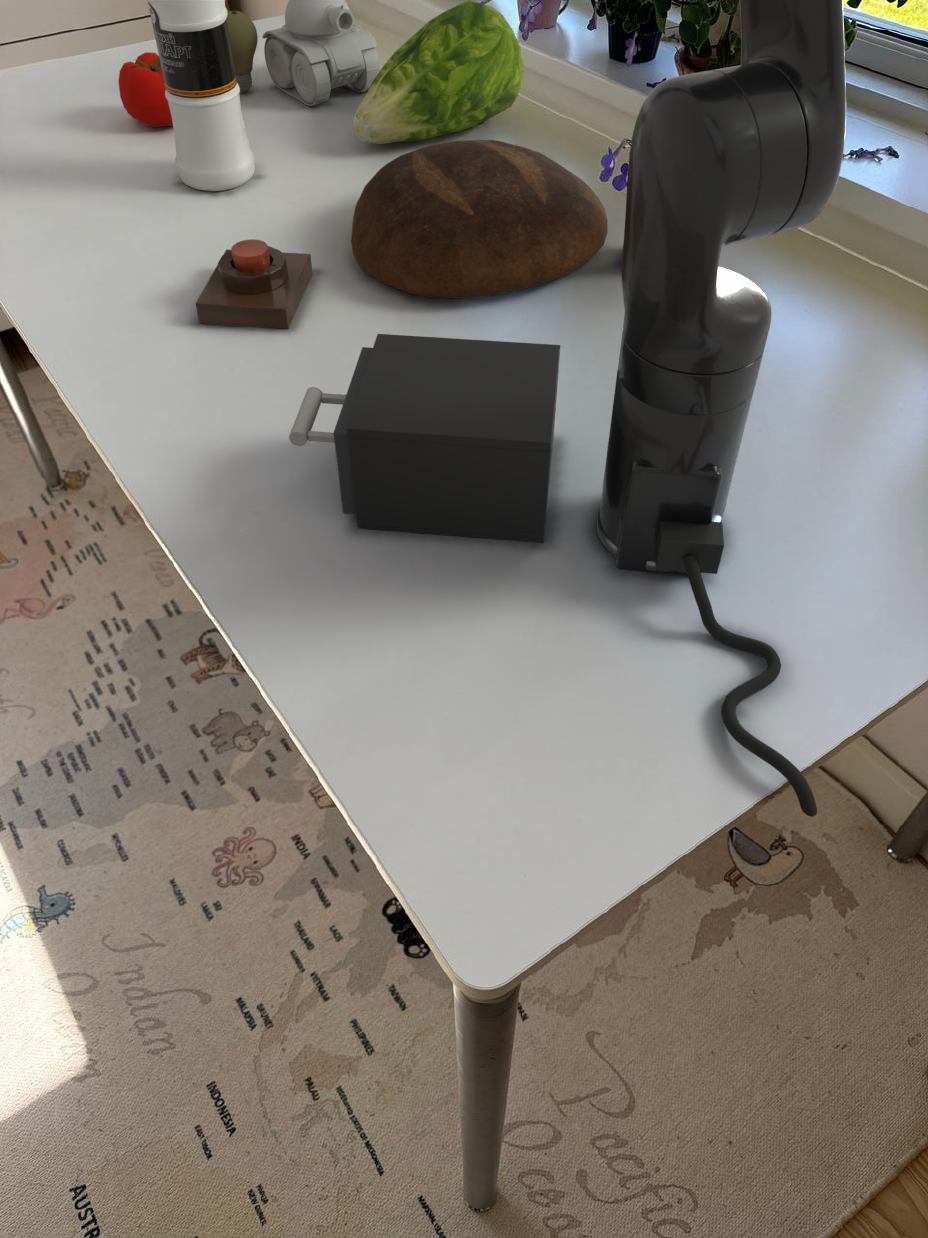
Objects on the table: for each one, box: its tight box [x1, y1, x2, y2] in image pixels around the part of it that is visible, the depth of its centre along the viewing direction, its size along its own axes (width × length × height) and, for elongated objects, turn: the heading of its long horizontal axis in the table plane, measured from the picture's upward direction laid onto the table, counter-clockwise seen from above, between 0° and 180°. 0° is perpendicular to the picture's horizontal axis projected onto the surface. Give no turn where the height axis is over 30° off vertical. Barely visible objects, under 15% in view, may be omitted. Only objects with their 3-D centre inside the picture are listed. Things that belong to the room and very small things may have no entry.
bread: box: [350, 139, 609, 299], centre depth 107 cm, size 28×27×9 cm
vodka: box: [146, 0, 256, 192], centre depth 111 cm, size 9×9×30 cm
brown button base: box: [195, 245, 314, 330], centre depth 101 cm, size 11×9×4 cm
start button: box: [230, 238, 271, 272], centre depth 99 cm, size 4×4×2 cm
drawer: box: [288, 346, 373, 515], centre depth 79 cm, size 18×11×8 cm, turn 83°
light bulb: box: [226, 10, 259, 94], centre depth 136 cm, size 6×6×10 cm
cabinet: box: [347, 333, 561, 544], centre depth 79 cm, size 15×13×10 cm
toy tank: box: [261, 0, 381, 107], centre depth 136 cm, size 15×11×13 cm
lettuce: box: [352, 0, 525, 145], centre depth 126 cm, size 14×23×13 cm, turn 126°
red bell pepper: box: [118, 51, 173, 128], centre depth 131 cm, size 9×9×8 cm
